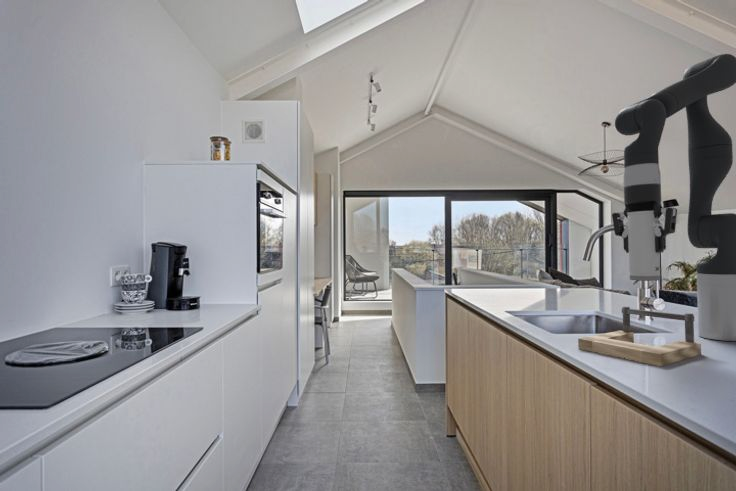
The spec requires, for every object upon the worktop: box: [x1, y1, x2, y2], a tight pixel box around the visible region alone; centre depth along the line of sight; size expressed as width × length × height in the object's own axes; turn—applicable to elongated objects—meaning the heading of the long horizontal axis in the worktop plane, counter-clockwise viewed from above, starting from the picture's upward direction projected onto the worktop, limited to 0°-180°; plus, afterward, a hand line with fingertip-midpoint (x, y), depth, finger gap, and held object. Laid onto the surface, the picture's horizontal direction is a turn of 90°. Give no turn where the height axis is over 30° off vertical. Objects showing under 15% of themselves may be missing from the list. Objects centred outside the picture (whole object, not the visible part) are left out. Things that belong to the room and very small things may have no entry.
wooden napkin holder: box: [577, 306, 702, 367], centre depth 96 cm, size 18×18×9 cm
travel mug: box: [626, 201, 661, 282], centre depth 99 cm, size 6×7×20 cm
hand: (644, 252), depth 99 cm, fingers closed on travel mug, 6 cm apart
